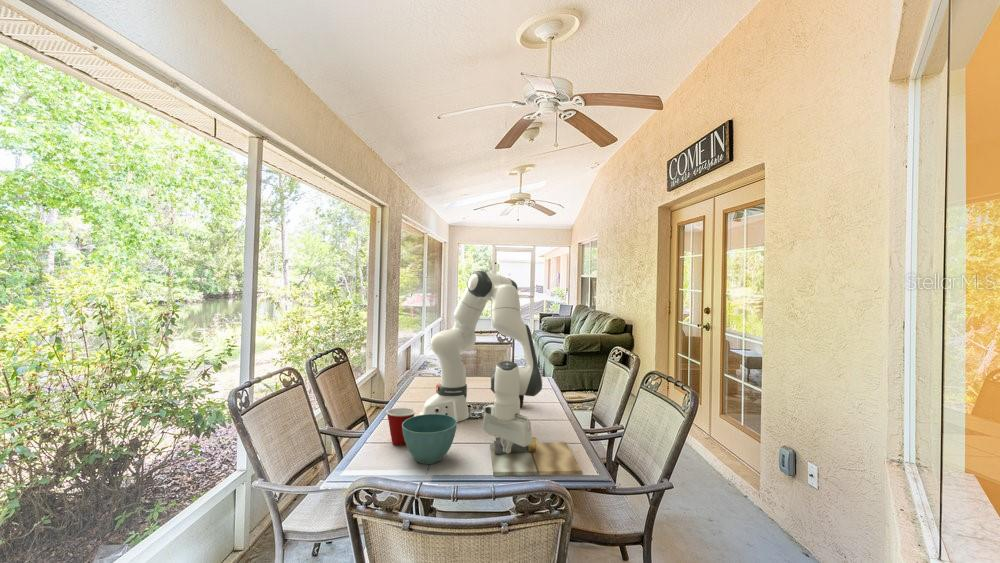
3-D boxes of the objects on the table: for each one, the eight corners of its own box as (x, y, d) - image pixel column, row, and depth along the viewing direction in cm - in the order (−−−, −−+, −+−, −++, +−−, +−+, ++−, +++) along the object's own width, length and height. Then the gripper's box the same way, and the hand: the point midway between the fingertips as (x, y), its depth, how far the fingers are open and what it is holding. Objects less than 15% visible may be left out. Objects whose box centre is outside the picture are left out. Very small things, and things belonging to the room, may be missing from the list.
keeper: (496, 449, 141) (496, 440, 141) (495, 445, 144) (496, 437, 144) (507, 449, 141) (507, 440, 141) (507, 445, 144) (507, 437, 144)
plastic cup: (421, 440, 151) (422, 408, 151) (402, 450, 141) (403, 416, 141) (398, 434, 156) (399, 404, 156) (379, 444, 146) (379, 412, 146)
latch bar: (534, 447, 142) (534, 436, 142) (537, 451, 139) (537, 440, 139) (493, 450, 139) (493, 438, 139) (495, 454, 136) (495, 443, 136)
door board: (493, 475, 124) (493, 471, 124) (490, 446, 146) (490, 443, 146) (582, 474, 126) (582, 470, 126) (565, 445, 148) (565, 442, 148)
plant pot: (407, 475, 124) (407, 435, 124) (397, 452, 140) (398, 417, 140) (463, 465, 131) (463, 428, 131) (447, 444, 148) (448, 411, 148)
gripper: (536, 415, 130) (536, 458, 130) (493, 403, 145) (493, 441, 145) (523, 420, 126) (523, 464, 126) (480, 406, 141) (480, 446, 140)
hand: (506, 452), depth 135 cm, fingers closed
